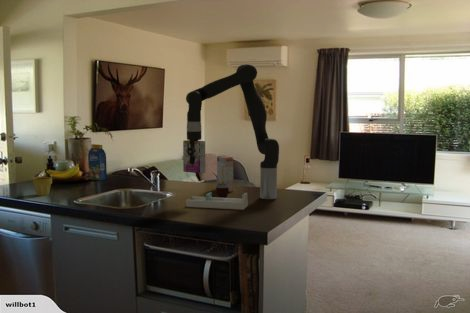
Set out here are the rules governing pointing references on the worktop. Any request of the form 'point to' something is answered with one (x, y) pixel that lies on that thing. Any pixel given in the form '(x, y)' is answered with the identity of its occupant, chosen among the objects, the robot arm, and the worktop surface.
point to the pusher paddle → (210, 198)
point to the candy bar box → (198, 157)
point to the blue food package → (97, 163)
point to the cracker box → (225, 171)
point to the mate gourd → (221, 189)
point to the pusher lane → (219, 203)
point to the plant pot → (42, 185)
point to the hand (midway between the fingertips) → (194, 162)
